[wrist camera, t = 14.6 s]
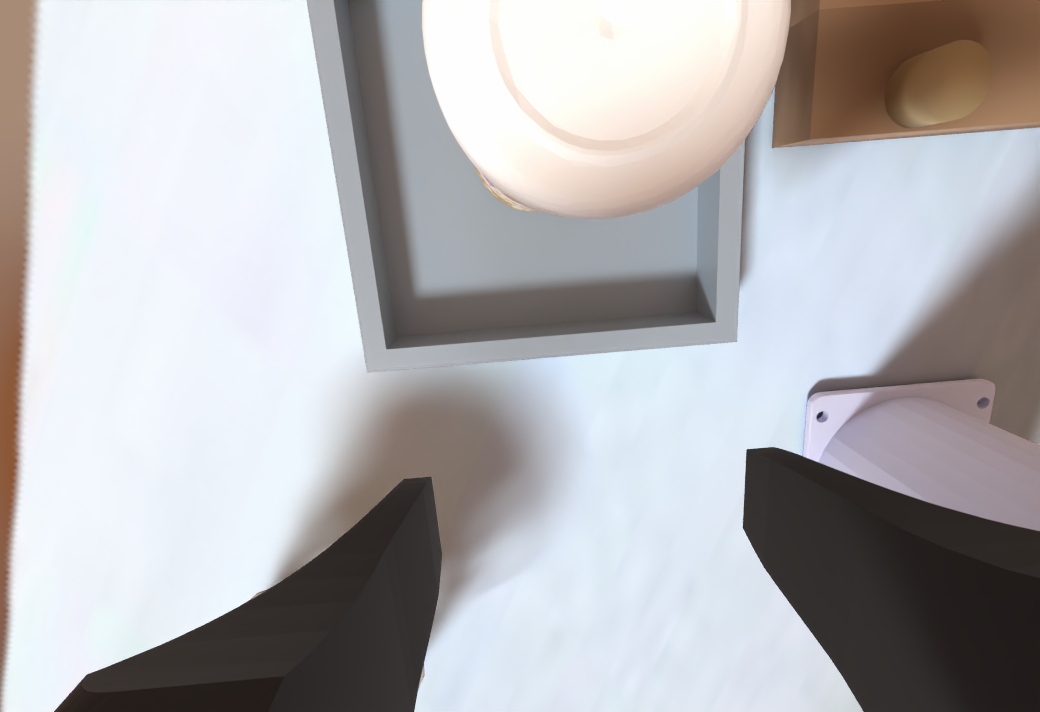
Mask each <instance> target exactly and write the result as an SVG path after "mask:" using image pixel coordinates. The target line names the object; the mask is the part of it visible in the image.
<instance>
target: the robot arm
mask: <svg viewBox="0 0 1040 712" xmlns="http://www.w3.org/2000/svg"><path fill="white" fill-rule="evenodd" d="M995 392H996V387H995V385H994V383H992V382H991V381H988V380H986V379H968V380H956V381H945V382H933V383H921V384H909V385H898V386H886V387H874V388H862V389H851V390H839V391H827V392H818V393H815V394H813V395H812V396H811V397H810V398H809V400H808V403H807V411H806V424H805V436H804V448H803V456H800V455H798V454H795V453H792V452H789V451H786V450H782V449H779V448H775V447H769V448H758V449H747V453H746V474H745V495H744V516H743V529H744V531H745V533H746V535H747V537H748V539H749V541H750V543H751V545H752V547H753V548H754V550H755V552H756V554H757V556H758V557H759V559H760V561H761V563H762V565H763V566H764V568H765V569H766V571H767V572H768V573H769V575H770V576H771V578H772V579H773V581H774V582H775V583H776V585H777V586H778V587H779V589H780V590H781V592H782V593H783V594H784V596H785V597H786V599H787V600H788V601H789V603H790V604H791V605H792V607H793V608H794V609H795V611H796V612H797V613H798V615H799V616H800V617H801V619H802V620H803V622H804V623H805V624H806V626H807V627H808V628H809V630H810V631H811V632H812V634H813V635H814V637H815V638H816V639H817V641H818V642H819V643H820V645H821V646H822V647H823V649H824V650H825V651H826V653H827V654H828V656H829V657H830V659H831V660H832V662H833V663H834V664H835V666H836V667H837V669H838V670H839V672H840V673H841V675H842V676H843V678H844V680H845V681H846V683H847V685H848V686H849V688H850V690H851V691H852V693H853V695H854V696H855V698H856V700H857V701H858V703H859V705H860V706H861V708H862V710H863V711H864V712H1040V445H1038V444H1035V443H1033V442H1031V441H1028V440H1026V439H1024V438H1021V437H1019V436H1017V435H1015V434H1012V433H1010V432H1008V431H1005V430H1003V429H1001V428H998V427H996V426H994V425H992V424H990V419H991V413H992V408H993V402H994V397H995ZM980 399H981V401H980V403H978V401H979V400H980ZM977 403H978V404H977ZM822 411H823V414H822V416H821V417H820V418H818V419H816V417H817V414H818V413H819V412H822ZM441 559H442V552H441V545H440V538H439V530H438V523H437V516H436V508H435V501H434V493H433V486H432V479H431V477H424V478H412V479H404V480H403V481H402V482H400V483H399V484H398V485H397V486H396V487H395V488H394V489H393V490H392V491H391V492H390V493H389V494H388V495H387V496H386V497H385V498H384V499H383V500H382V501H381V502H380V503H378V504H377V505H376V506H375V507H374V508H373V509H372V510H371V511H370V512H369V513H368V514H367V515H366V516H365V517H364V518H363V519H361V520H360V521H359V522H358V523H357V524H356V525H355V526H354V527H352V528H351V529H350V530H349V531H348V532H346V533H345V534H344V535H343V536H342V537H341V538H339V539H338V540H337V541H336V542H335V543H333V544H332V545H331V546H330V547H329V548H328V549H326V550H325V551H324V552H322V553H321V554H320V555H319V556H317V557H316V558H315V559H313V560H312V561H310V562H309V563H308V564H306V565H305V566H303V567H302V568H301V569H299V570H298V571H296V572H295V573H293V574H292V575H290V576H289V577H287V578H286V579H284V580H283V581H281V582H280V583H278V584H277V585H275V586H273V587H271V588H270V589H268V590H266V591H265V592H263V593H261V594H260V595H258V596H256V597H254V598H253V599H251V600H249V601H248V602H246V603H244V604H243V605H241V606H239V607H238V608H236V609H234V610H232V611H230V612H228V613H226V614H224V615H222V616H221V617H219V618H217V619H215V620H213V621H211V622H209V623H207V624H205V625H203V626H201V627H199V628H197V629H194V630H192V631H190V632H188V633H186V634H184V635H182V636H180V637H178V638H175V639H173V640H171V641H169V642H166V643H164V644H162V645H160V646H157V647H155V648H152V649H150V650H147V651H145V652H143V653H140V654H138V655H135V656H133V657H130V658H128V659H125V660H123V661H121V662H118V663H116V664H113V665H111V666H108V667H106V668H103V669H101V670H98V671H95V672H93V673H90V674H87V675H86V676H85V677H84V679H83V680H82V681H81V682H80V683H79V684H78V685H77V686H76V688H75V689H74V690H73V691H72V692H71V693H70V694H69V695H68V697H67V698H66V699H65V700H64V701H63V702H62V703H61V704H60V706H59V707H58V708H57V709H56V710H55V711H54V712H414V709H415V703H416V697H417V692H418V688H419V683H420V678H421V674H422V669H423V665H424V660H425V656H426V651H427V646H428V642H429V637H430V633H431V628H432V623H433V619H434V614H435V609H436V605H437V600H438V594H439V583H440V572H441Z"/></svg>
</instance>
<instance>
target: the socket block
mask: <svg viewBox="0 0 1040 712" xmlns="http://www.w3.org/2000/svg"><path fill="white" fill-rule="evenodd" d="M1037 127H1040V0H940V1H938V0H791V15H790V23H789V31H788V37H787V42H786V48H785V53H784V58H783V62H782V64H781V67H780V70H779V74H778V78H777V81H776V85H775V103H774V122H773V141H772V148H778V147H791V146H804V145H817V144H830V143H843V142H856V141H869V140H881V139H894V138H907V137H920V136H933V135H946V134H959V133H972V132H985V131H998V130H1011V129H1024V128H1037Z"/></svg>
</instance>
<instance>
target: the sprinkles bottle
mask: <svg viewBox="0 0 1040 712" xmlns="http://www.w3.org/2000/svg"><path fill="white" fill-rule="evenodd" d="M790 15H791V0H422V31H423V41H424V50H425V55H426V60H427V65H428V70H429V74H430V78H431V81H432V85H433V88H434V91H435V94H436V97H437V100H438V102H439V105H440V108H441V110H442V112H443V115H444V117H445V119H446V122H447V124H448V126H449V128H450V130H451V132H452V133H453V135H454V137H455V139H456V140H457V142H458V144H459V145H460V147H461V148H462V149H463V151H464V152H465V154H466V155H467V157H468V158H469V159H470V161H471V162H472V163H473V164H474V166H475V169H476V171H477V173H478V175H479V177H480V178H481V181H482V183H483V184H484V185H485V187H486V188H487V189H488V190H489V192H490V193H491V194H492V195H494V196H495V197H496V198H497V199H498V200H500V201H501V202H503V203H504V204H506V205H508V206H510V207H512V208H514V209H517V210H521V211H531V212H539V211H541V212H544V213H547V214H552V215H557V216H562V217H567V218H579V219H609V218H618V217H625V216H630V215H634V214H639V213H642V212H645V211H648V210H652V209H655V208H658V207H660V206H662V205H665V204H667V203H669V202H672V201H674V200H676V199H678V198H679V197H681V196H683V195H685V194H686V193H688V192H690V191H691V190H693V189H694V188H696V187H697V186H698V185H700V184H701V183H702V182H704V181H705V180H706V179H708V178H709V177H710V176H712V175H713V174H714V173H715V172H716V171H717V170H718V169H719V168H720V167H722V166H723V165H724V164H725V163H726V162H727V161H728V160H729V158H730V157H731V156H732V155H733V154H734V153H735V152H736V151H737V149H738V148H739V147H740V145H741V144H742V143H743V142H744V140H745V139H746V137H747V136H748V134H749V133H750V131H751V130H752V128H753V127H754V125H755V123H756V122H757V120H758V119H759V117H760V115H761V113H762V111H763V109H764V107H765V105H766V104H767V102H768V100H769V98H770V96H771V94H772V92H773V89H774V86H775V84H776V81H777V78H778V74H779V70H780V67H781V64H782V62H783V58H784V53H785V48H786V42H787V37H788V31H789V23H790Z"/></svg>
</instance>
